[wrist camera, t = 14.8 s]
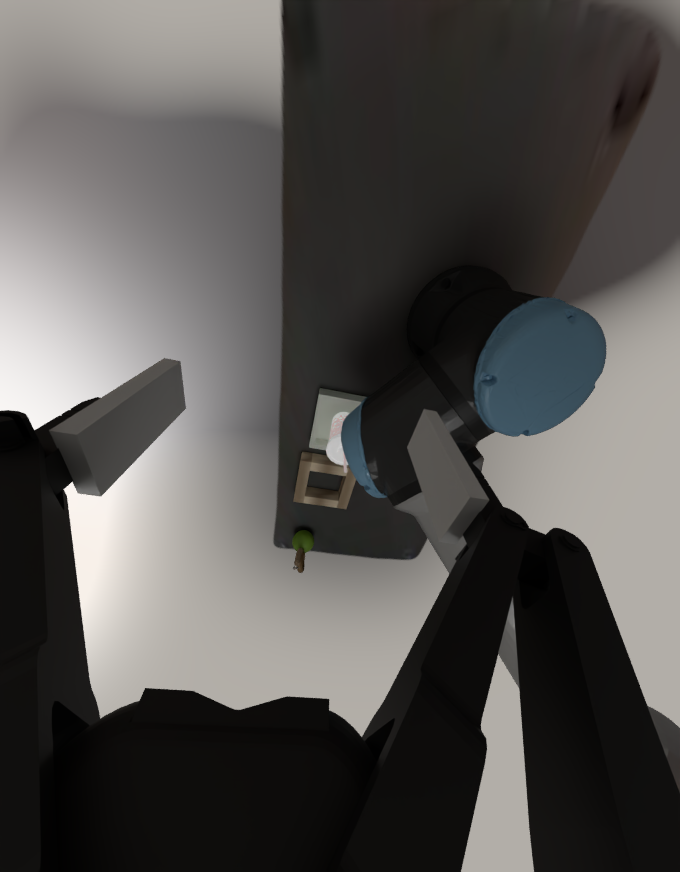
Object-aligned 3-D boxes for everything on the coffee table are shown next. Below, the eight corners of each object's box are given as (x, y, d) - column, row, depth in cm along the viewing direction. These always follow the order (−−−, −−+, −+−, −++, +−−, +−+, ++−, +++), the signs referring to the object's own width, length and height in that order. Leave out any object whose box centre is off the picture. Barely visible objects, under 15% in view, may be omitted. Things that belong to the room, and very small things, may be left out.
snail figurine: (312, 522, 70) (307, 567, 60) (316, 537, 73) (312, 583, 63) (291, 524, 70) (283, 569, 60) (296, 539, 74) (289, 584, 64)
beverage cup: (321, 421, 52) (316, 470, 40) (345, 401, 50) (347, 448, 38) (342, 440, 55) (343, 492, 43) (366, 423, 52) (374, 472, 41)
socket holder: (358, 460, 58) (359, 470, 56) (345, 499, 65) (346, 509, 62) (302, 451, 57) (300, 460, 54) (295, 491, 63) (293, 501, 61)
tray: (382, 400, 50) (384, 406, 48) (365, 449, 57) (366, 457, 54) (319, 387, 49) (319, 394, 47) (310, 440, 55) (309, 447, 53)
